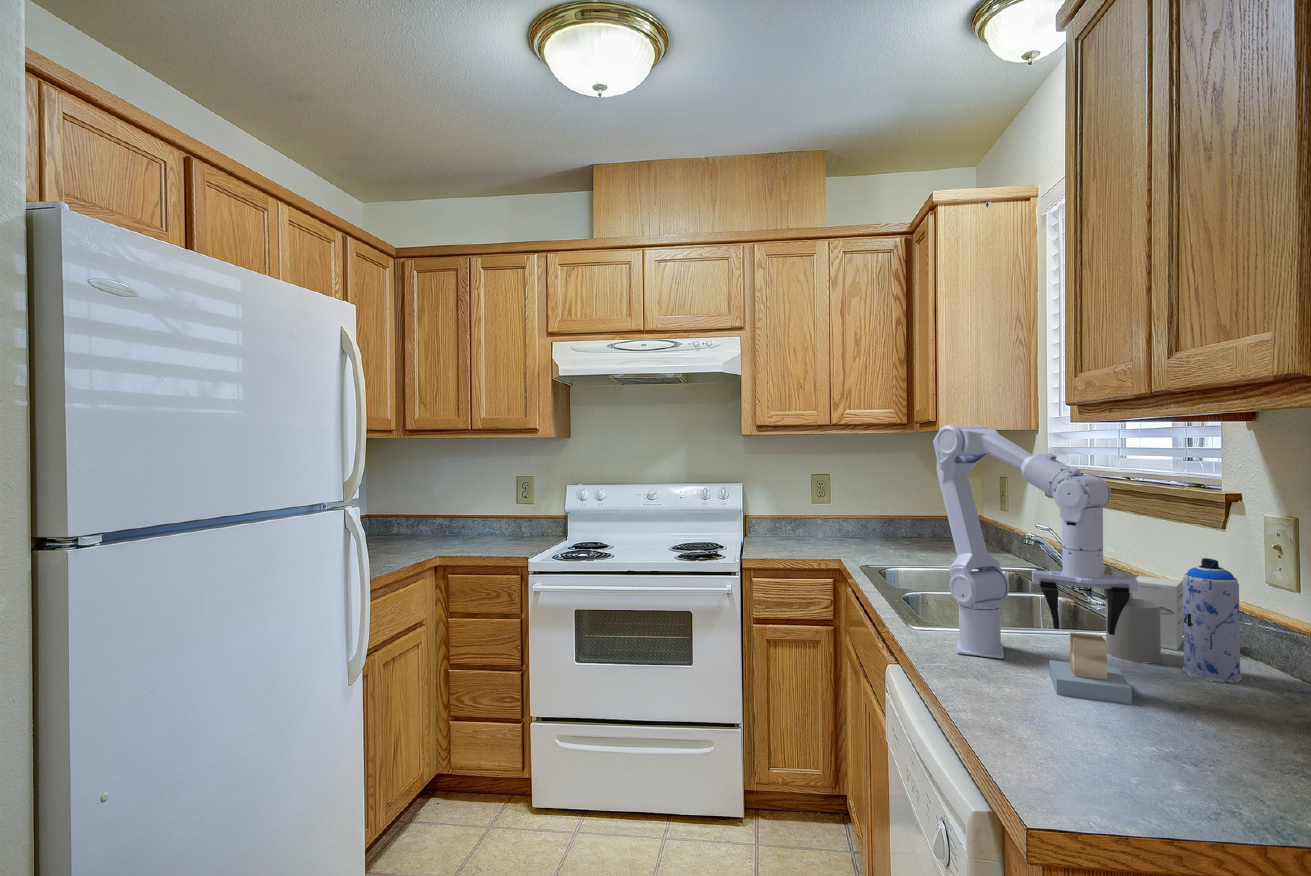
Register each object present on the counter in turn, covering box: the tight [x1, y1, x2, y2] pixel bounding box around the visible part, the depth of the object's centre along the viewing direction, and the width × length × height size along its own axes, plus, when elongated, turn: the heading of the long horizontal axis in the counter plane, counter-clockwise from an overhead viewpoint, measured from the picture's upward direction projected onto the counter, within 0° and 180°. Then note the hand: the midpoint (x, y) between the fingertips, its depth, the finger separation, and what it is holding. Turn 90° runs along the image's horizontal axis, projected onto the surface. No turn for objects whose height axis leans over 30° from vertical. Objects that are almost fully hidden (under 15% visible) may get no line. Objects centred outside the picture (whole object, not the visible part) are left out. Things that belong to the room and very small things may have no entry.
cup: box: [1105, 597, 1162, 663], centre depth 125 cm, size 8×8×10 cm
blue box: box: [1048, 660, 1133, 705], centre depth 109 cm, size 10×10×3 cm
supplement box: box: [1132, 575, 1184, 651], centre depth 133 cm, size 7×7×13 cm
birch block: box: [1068, 631, 1108, 680], centre depth 109 cm, size 4×4×6 cm
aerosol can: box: [1182, 557, 1243, 683], centre depth 115 cm, size 8×8×20 cm
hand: (1083, 630), depth 110 cm, fingers open, 7 cm apart
